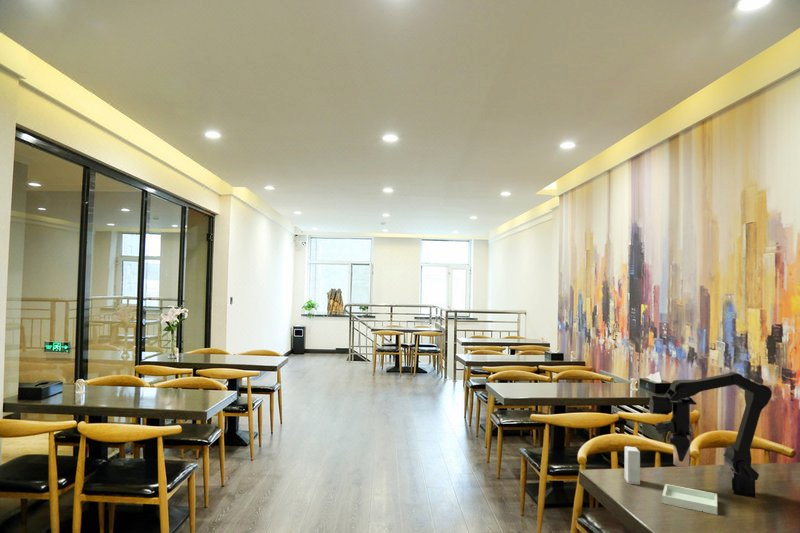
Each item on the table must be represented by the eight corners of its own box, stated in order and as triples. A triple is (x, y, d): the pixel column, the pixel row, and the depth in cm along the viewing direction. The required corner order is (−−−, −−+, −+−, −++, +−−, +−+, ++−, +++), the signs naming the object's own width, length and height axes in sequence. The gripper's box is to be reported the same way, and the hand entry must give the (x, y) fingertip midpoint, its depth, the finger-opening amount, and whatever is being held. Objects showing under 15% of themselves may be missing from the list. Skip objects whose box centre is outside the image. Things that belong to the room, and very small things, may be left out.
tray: (717, 501, 170) (717, 493, 170) (717, 514, 159) (717, 506, 159) (665, 490, 178) (665, 483, 178) (662, 503, 168) (662, 495, 168)
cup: (689, 464, 183) (689, 444, 183) (688, 468, 179) (688, 448, 179) (674, 461, 186) (673, 442, 186) (673, 465, 181) (672, 445, 182)
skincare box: (640, 485, 183) (640, 451, 184) (628, 483, 184) (627, 450, 185) (636, 479, 189) (636, 446, 190) (624, 478, 190) (624, 445, 191)
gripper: (658, 408, 195) (658, 448, 194) (653, 417, 180) (654, 461, 179) (691, 412, 189) (692, 454, 189) (689, 422, 174) (690, 468, 173)
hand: (681, 459), depth 182 cm, fingers closed on cup, 5 cm apart
